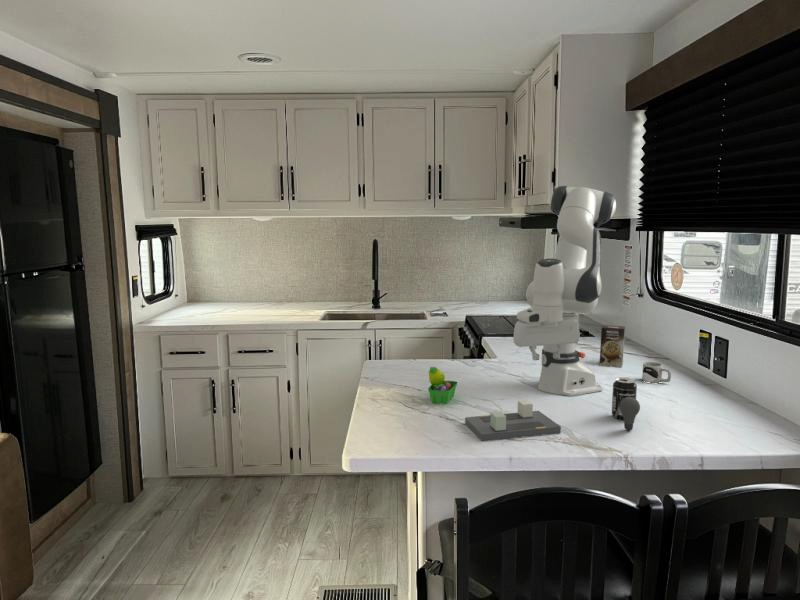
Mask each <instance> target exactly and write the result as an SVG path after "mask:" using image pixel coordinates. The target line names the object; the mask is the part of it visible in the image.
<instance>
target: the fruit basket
mask: <svg viewBox="0 0 800 600" xmlns="http://www.w3.org/2000/svg"><path fill="white" fill-rule="evenodd" d="M445 378H446V374H445V373H444V372H443V371H441V370H440V369H439V368H438V367H436V366H430V367H429V371H428V380H429V382H430V386H429V387H428V388H427V391H428V393H429V397H430V400H431V404H439V403H444V405H448V403H449V402H450V401H451V400H452V399H451V398H453V397H454V395H455V393H456V392H455V391H456V390H457V389H456V388H457V385H458V381H455V380H454V381H453V380H445ZM450 399H451V400H450Z"/></svg>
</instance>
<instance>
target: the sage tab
mask: <svg viewBox="0 0 800 600" xmlns="http://www.w3.org/2000/svg"><path fill="white" fill-rule="evenodd" d="M504 414H505V413H503V412H502V411H493V412H490V415H491V427H492V428H493V429H494V430H496V431H500V430H506V416H505V415H504Z"/></svg>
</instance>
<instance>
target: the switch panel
mask: <svg viewBox="0 0 800 600" xmlns="http://www.w3.org/2000/svg"><path fill="white" fill-rule="evenodd" d="M503 414H504V415H505V416H506V430H500V431H496V430H494V429H493V428H492V427H491V414H486V415H477V416H467V417H464V425H465V426H467V428H469V429H470V430H471V431H472V433H474V435H475V436H476V437H478V439H480V441H481V442H486V441H488V440H489V441H496V440H497V439H499V440H507V438H508V439H515V438H514V437H518V438H523V437H522V436H528V437H532V436H531V435H538V436H543V435H542V434H547V435H555V433H557V434H561V432H562V431H561V429H562V426H561V425H559V424H558V422H555V421H554V420H553V419H551V418H549V417H548V416H547V415H546V414H544V413H542V412H541V411H540V410H533V412H532V417H524V418H523V417H522V416H520V415H519V414H518V413H517V412H511V413H508V412H507V413H503Z"/></svg>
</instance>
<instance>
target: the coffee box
mask: <svg viewBox="0 0 800 600" xmlns="http://www.w3.org/2000/svg"><path fill="white" fill-rule="evenodd" d="M625 332H626V326H622V325H610V324H602V325H601V331H600V333H601V334H600V349H599V364H598V365H599V366H601V367H602V366H603V367H610V366H612V367H614V368H621V367H622V366H623V365H624V353H625V352H624V349H625V348H624V347H625V337H626V336H625V335H626V333H625ZM612 367H611V368H612ZM622 368H623V367H622Z"/></svg>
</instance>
